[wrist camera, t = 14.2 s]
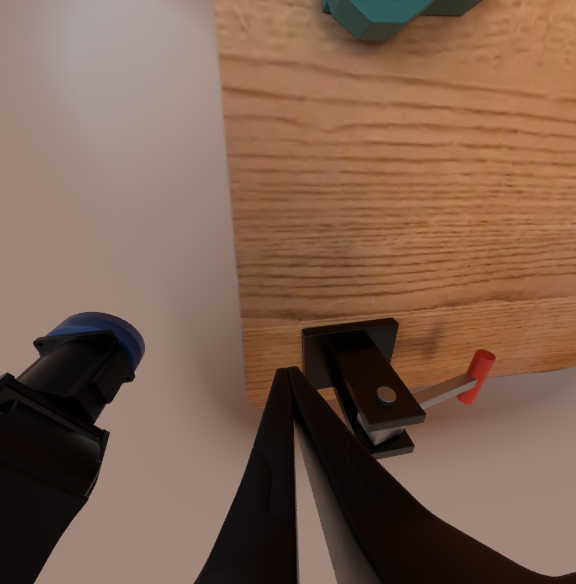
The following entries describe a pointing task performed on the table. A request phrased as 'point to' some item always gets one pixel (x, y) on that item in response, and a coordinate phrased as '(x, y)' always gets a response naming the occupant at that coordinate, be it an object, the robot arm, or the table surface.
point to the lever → (446, 392)
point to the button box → (388, 14)
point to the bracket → (363, 380)
